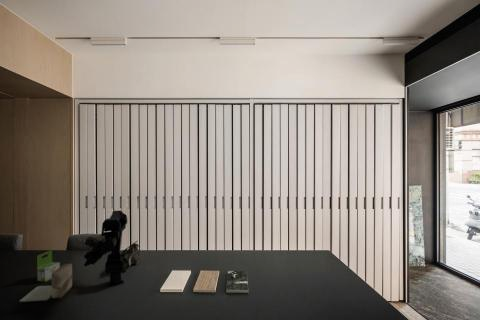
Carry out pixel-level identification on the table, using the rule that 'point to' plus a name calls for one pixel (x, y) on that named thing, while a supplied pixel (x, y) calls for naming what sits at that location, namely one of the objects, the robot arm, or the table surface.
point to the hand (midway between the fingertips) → (84, 265)
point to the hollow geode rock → (131, 255)
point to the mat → (38, 294)
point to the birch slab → (61, 281)
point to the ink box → (46, 267)
